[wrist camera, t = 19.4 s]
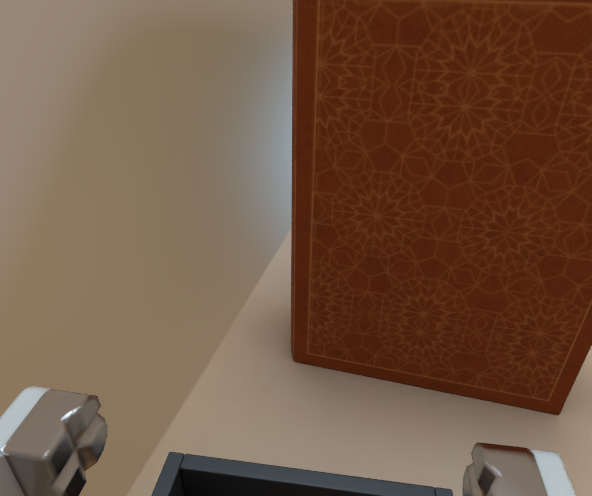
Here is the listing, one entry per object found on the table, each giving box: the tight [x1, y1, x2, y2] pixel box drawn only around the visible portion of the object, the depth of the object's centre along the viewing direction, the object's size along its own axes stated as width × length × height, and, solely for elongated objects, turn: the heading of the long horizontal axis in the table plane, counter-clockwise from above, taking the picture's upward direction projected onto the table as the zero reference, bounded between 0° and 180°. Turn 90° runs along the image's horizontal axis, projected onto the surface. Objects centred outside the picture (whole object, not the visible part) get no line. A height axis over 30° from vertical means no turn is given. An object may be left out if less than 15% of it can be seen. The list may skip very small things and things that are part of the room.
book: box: [291, 0, 592, 415], centre depth 35 cm, size 23×8×30 cm, turn 75°
